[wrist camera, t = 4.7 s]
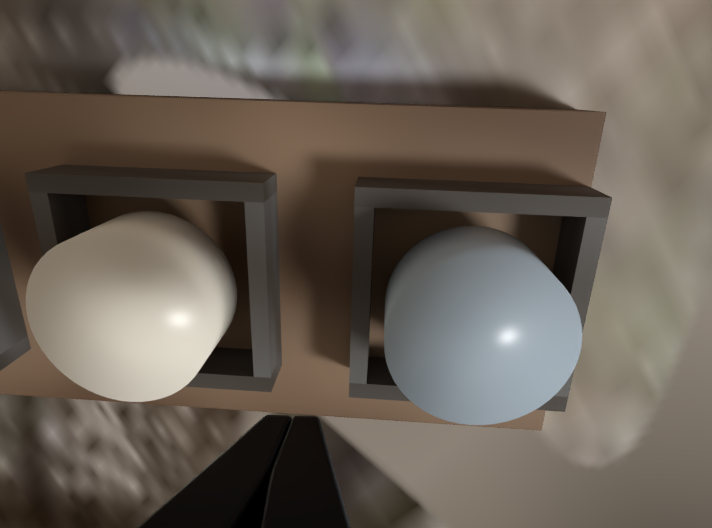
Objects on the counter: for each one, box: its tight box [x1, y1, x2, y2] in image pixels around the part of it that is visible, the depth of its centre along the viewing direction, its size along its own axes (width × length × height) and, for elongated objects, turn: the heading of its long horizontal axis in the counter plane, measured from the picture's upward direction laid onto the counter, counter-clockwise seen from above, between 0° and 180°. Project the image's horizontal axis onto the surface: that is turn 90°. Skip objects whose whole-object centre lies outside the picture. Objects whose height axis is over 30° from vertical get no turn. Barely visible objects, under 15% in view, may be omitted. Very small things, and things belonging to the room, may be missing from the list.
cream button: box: [26, 211, 237, 402], centre depth 12 cm, size 4×4×2 cm
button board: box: [0, 91, 612, 430], centre depth 15 cm, size 10×23×4 cm, turn 88°
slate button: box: [384, 226, 582, 425], centre depth 12 cm, size 4×4×2 cm
